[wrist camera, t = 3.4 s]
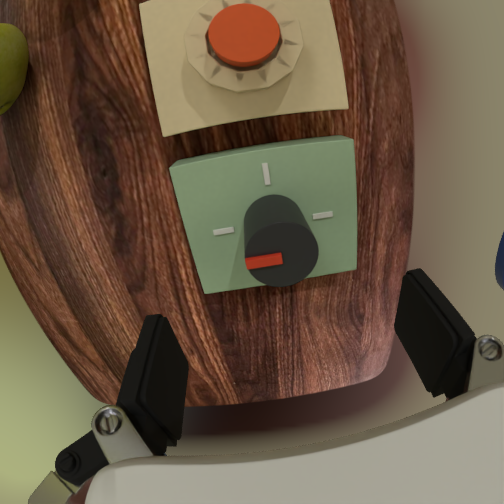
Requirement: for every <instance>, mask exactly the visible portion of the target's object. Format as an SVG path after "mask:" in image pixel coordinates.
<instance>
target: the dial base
mask: <svg viewBox="0 0 504 504" xmlns="http://www.w3.org/2000/svg"><path fill="white" fill-rule="evenodd" d="M169 169H170V174H171V178H172V181H173V185H174V189H175V193H176V197H177V201H178V205H179V208H180V212H181V216H182V219H183V223H184V226H185V230H186V234H187V237H188V241H189V244H190V247H191V251H192V254H193V258H194V261H195V264H196V268H197V271H198V274H199V277H200V281H201V284H202V287H203V290H204V293H205V294H208V293H215V292H222V291H229V290H236V289H242V288H249V287H255V286H262V285H266V284H263V283H261V282H259V281H258V280H256V279H255V278H254V277H253V276H252V275H251V274H250V272H249V271H248V269H247V267H246V263H245V253H244V217H245V213H246V211H247V209H248V208H249V207H250V205H251V204H252V203H253V202H254V201H256V200H257V199H259V198H261V197H263V196H267V195H273V194H274V195H282V196H286V197H288V198H290V199H291V200H293V201H294V202H295V203H296V204H297V205H298V207H299V208H300V210H301V212H302V214H303V216H304V217H305V219H306V221H307V223H308V225H309V227H310V229H311V231H312V233H313V235H314V237H315V239H316V241H317V244H318V248H319V255H318V260H317V263H316V265H315V267H314V269H313V270H312V272H311V273H310V274H309V275H308V276H307V277H306V278H310V277H316V276H322V275H327V274H333V273H339V272H344V271H349V270H355V269H356V268H357V191H356V169H355V153H354V140H353V139H351V138H348V137H345V136H342V135H335V136H324V137H313V138H304V139H296V140H288V141H280V142H273V143H266V144H259V145H253V146H247V147H241V148H235V149H230V150H224V151H219V152H214V153H209V154H204V155H199V156H195V157H190V158H186V159H181V160H177V161H176V162H175V163H174V164H173V165H172V166H171V167H170V168H169ZM304 279H305V278H304Z"/></svg>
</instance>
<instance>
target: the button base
mask: <svg viewBox="0 0 504 504" xmlns="http://www.w3.org/2000/svg"><path fill="white" fill-rule="evenodd" d="M242 3H247V4H254V5H257V6H260V7H262V8H264V9H266V10H267V11H269V12H270V13H271V14H272V15H273V16H274V17H275V19H276V20H277V22H278V25H279V29H280V37H279V41H278V44H277V45H276V47H275V49H274V51H273V52H272V54H271V55H270V56H269V57H268V58H267V59H266V60H265V61H263V62H261V63H259V64H257V65H254V66H249V67H238V66H233V65H230V64H228V63H226V62H224V61H223V60H221V59H220V58H219V57H218V56H217V55H216V53H215V52H214V50H213V48H212V46H211V44H210V42H209V38H208V29H209V25H210V23H211V21H212V19H213V18H214V17H215V15H216V14H217V13H218V12H220V11H221V10H223V9H224V8H226V7H228V6H231V5H235V4H242ZM139 7H140V15H141V22H142V29H143V35H144V41H145V47H146V53H147V59H148V65H149V70H150V76H151V81H152V86H153V91H154V97H155V101H156V106H157V111H158V116H159V120H160V125H161V130H162V134H163V137H167V136H171V135H175V134H179V133H183V132H187V131H191V130H196V129H200V128H205V127H210V126H215V125H220V124H225V123H230V122H236V121H242V120H248V119H254V118H261V117H268V116H275V115H283V114H292V113H302V112H312V111H325V110H342V109H349V107H348V99H347V91H346V84H345V77H344V71H343V65H342V59H341V53H340V48H339V42H338V37H337V32H336V27H335V23H334V18H333V14H332V10H331V6H330V1H329V0H150V1H147V2H144V3H141V4H139Z"/></svg>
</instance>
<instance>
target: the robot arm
mask: <svg viewBox="0 0 504 504" xmlns="http://www.w3.org/2000/svg"><path fill="white" fill-rule="evenodd" d="M394 328H395V332H396V334H397V335H398V337H399V339H400V341H401V342H402V344H403V346H404V348H405V350H406V352H407V353H408V355H409V357H410V359H411V361H412V363H413V365H414V367H415V369H416V370H417V372H418V374H419V376H420V378H421V380H422V382H423V384H424V386H425V388H426V390H427V391H428V392H431V393H432V395H433V397H436V396H439V395H441V394H443V393H444V394H445V396H446V402H444V403H442V404H439V405H437V406H435V407H432V408H430V409H427V410H425V411H422V412H420V413H417V414H414V415H412V416H409V417H406V418H404V419H401V420H398V421H395V422H393V423H389V424H386V425H383V426H380V427H377V428H373V429H370V430H367V431H364V432H360V433H357V434H352V435H349V436H345V437H341V438H337V439H332V440H328V441H323V442H318V443H313V444H308V445H303V446H298V447H292V448H284V449H278V450H270V451H262V452H253V453H241V454H227V455H204V456H167V455H166V454H165V452H166V448H167V446H176V445H177V440H179V439H180V438H181V433H182V423H183V413H184V404H185V395H186V387H187V378H188V370H189V366H188V361H187V359H186V357H185V355H184V353H183V351H182V349H181V347H180V345H179V343H178V341H177V338H176V336H175V334H174V332H173V330H172V328H171V325H170V323H169V321H168V319H167V318H166V317H163V316H162V315H161V314H155V315H147V316H146V318H145V320H144V323H143V326H142V329H141V332H140V335H139V338H138V341H137V344H136V348H135V349H134V350H133V351H132V353H131V355H130V358H129V362H128V365H127V368H126V371H125V375H124V378H123V381H122V385H121V388H120V392H119V395H118V399H117V402H116V405H108V406H104V407H102V408H100V409H99V410H98V411H97V412H96V413H95V415H94V416H93V419H92V423H91V427H92V430H91V431H90V432H89V433H87V434H86V435H84V436H83V437H81V438H80V439H78V440H77V441H75V442H74V443H73V444H71V445H70V446H68V447H67V448H65V449H64V450H62V451H61V452H60V453H59V454H58V456H57V458H56V461H55V468H56V471H55V472H53V471H51V472H50V473H49V474H48V475H47V476H46V478H45V479H44V480H43V481H42V483H41V484H40V485H39V486H38V487H37V489H36V490H35V491H34V492H33V494H32V495H31V496H30V498H29V500H28V504H504V345H503V343H502V342H501V341H500V340H499V339H498V338H496V337H494V336H492V335H483V336H481V337H479V338H478V339H477V338H476V337H475V336H474V335H475V334H474V332H473V331H472V329H471V328H470V327H469V326H468V324H467V323H466V322H465V320H464V319H463V318H462V317H461V315H460V314H459V313H458V311H457V310H456V309H455V308H454V306H453V305H452V304H451V303H450V302H449V300H448V299H447V298H446V297H445V296H444V294H443V293H442V292H441V291H440V290H439V288H438V287H437V286H436V285H435V284H434V283H433V281H432V280H431V279H430V278H429V277H428V276H427V275H426V274H425V272H424V271H423V270H422V269H420V268H419V269H415V270H410V271H407V273H406V275H405V276H403V279H402V286H401V292H400V297H399V303H398V308H397V313H396V318H395V323H394Z"/></svg>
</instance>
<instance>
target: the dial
mask: <svg viewBox="0 0 504 504" xmlns="http://www.w3.org/2000/svg"><path fill="white" fill-rule="evenodd" d="M244 253H245V263H246V267H247V269H248V271H249V272H250V274H251V275H252V276H253V277H254V278H255V279H256V280H258V281H259V282H261V283H263V284H266V285H269V286H273V287H285V286H290V285H293V284H296V283H298V282H300V281H302V280H303V279H304V278H306V277H307V276H308V275H309V274H310V273H311V272H312V270H313V269H314V267H315V265H316V263H317V260H318V255H319V248H318V244H317V241H316V239H315V237H314V235H313V233H312V231H311V229H310V227H309V225H308V223H307V221H306V219H305V217H304V216H303V214H302V212H301V210H300V208H299V207H298V205H297V204H296V203H295V202H294V201H293V200H291V199H290V198H288V197H286V196H282V195H274V194H273V195H267V196H263V197H261V198H259V199H257V200H256V201H254V202H253V203H252V204H251V205H250V207H249V208H248V209H247V211H246V213H245V217H244Z"/></svg>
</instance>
